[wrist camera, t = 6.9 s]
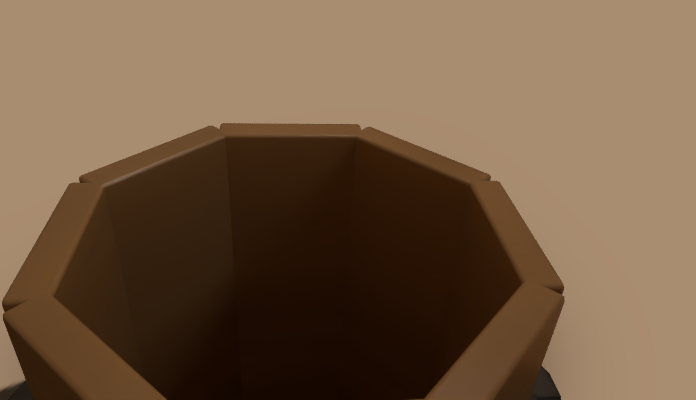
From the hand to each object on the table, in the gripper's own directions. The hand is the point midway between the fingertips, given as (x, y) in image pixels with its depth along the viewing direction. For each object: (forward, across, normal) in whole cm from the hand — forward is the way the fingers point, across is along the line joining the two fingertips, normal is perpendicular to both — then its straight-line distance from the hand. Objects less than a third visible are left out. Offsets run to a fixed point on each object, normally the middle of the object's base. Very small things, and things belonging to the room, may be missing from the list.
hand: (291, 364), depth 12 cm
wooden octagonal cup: (-2, 0, +8) cm, 8 cm away
